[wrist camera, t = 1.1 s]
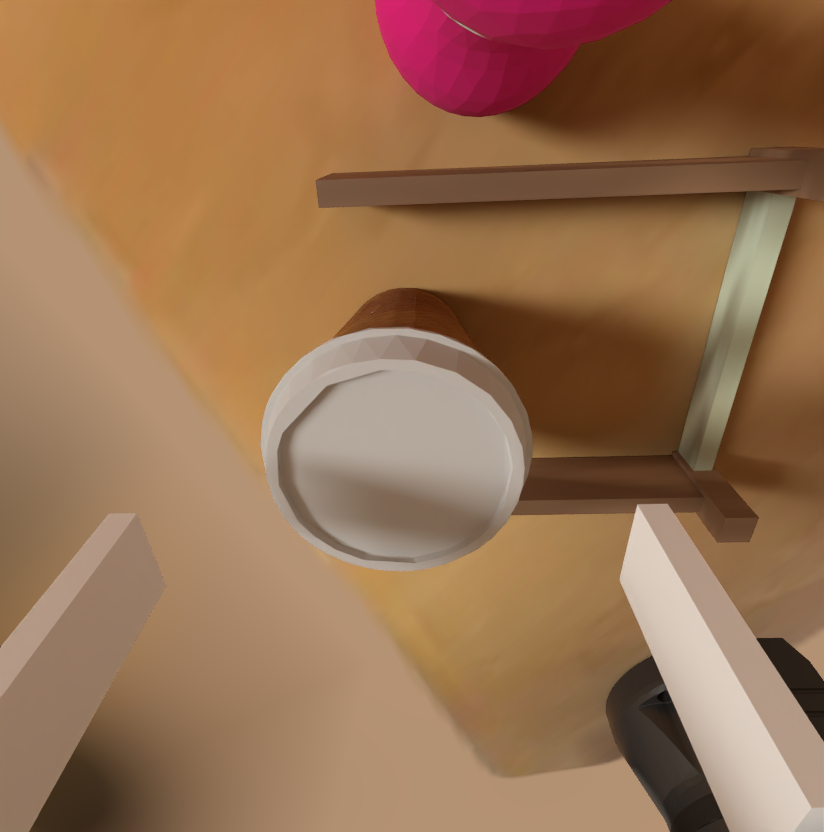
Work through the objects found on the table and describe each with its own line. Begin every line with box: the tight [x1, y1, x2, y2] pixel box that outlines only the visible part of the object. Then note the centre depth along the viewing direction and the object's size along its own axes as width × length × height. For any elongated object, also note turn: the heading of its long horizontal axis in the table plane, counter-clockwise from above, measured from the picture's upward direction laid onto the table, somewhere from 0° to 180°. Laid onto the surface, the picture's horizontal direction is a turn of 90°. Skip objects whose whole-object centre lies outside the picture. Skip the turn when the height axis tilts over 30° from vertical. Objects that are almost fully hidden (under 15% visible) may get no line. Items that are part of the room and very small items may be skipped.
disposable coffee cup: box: [261, 288, 532, 571], centre depth 22 cm, size 10×10×12 cm
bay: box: [316, 147, 824, 542], centre depth 24 cm, size 18×20×6 cm
